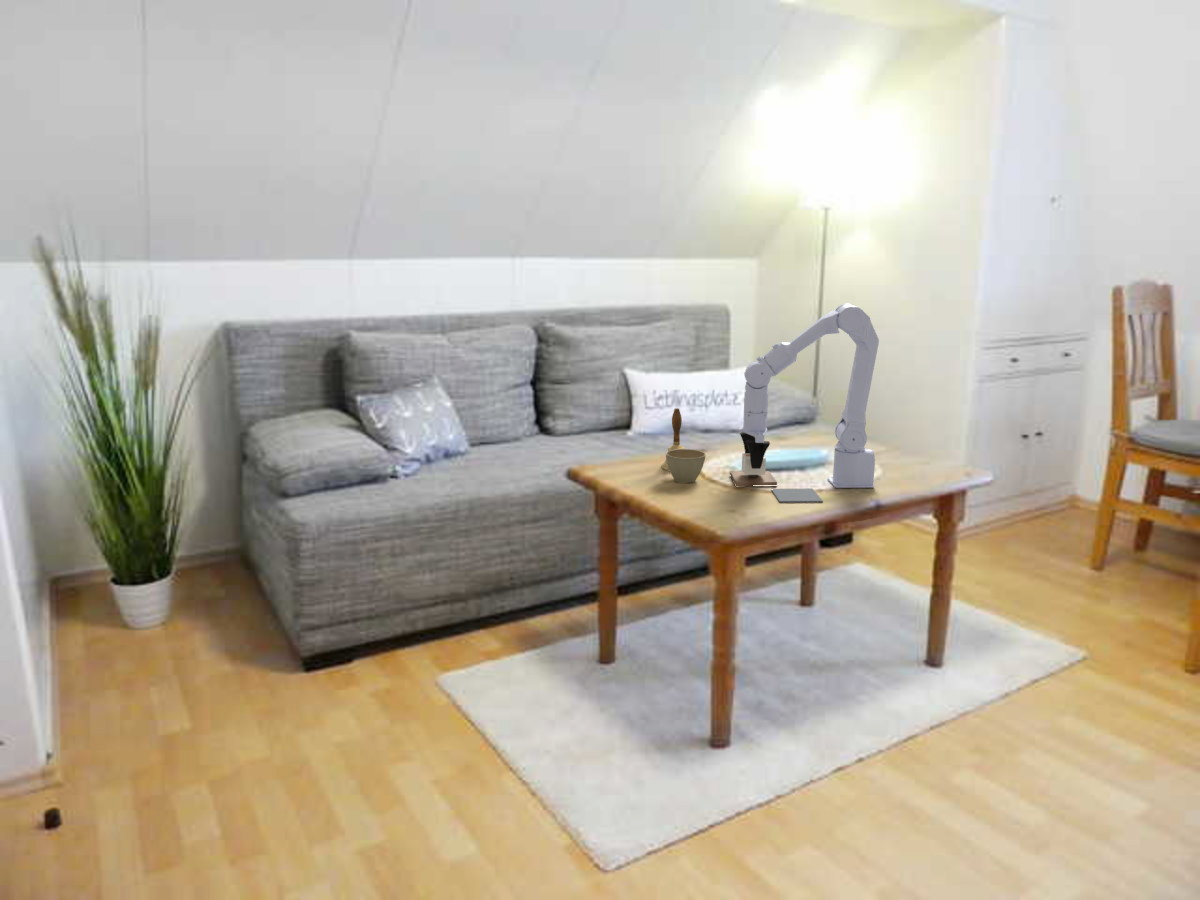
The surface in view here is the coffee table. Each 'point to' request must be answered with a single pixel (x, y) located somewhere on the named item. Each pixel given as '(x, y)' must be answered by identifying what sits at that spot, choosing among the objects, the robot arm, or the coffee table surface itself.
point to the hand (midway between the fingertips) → (753, 464)
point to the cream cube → (748, 469)
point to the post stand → (752, 479)
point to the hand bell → (675, 434)
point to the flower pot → (685, 464)
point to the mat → (797, 495)
